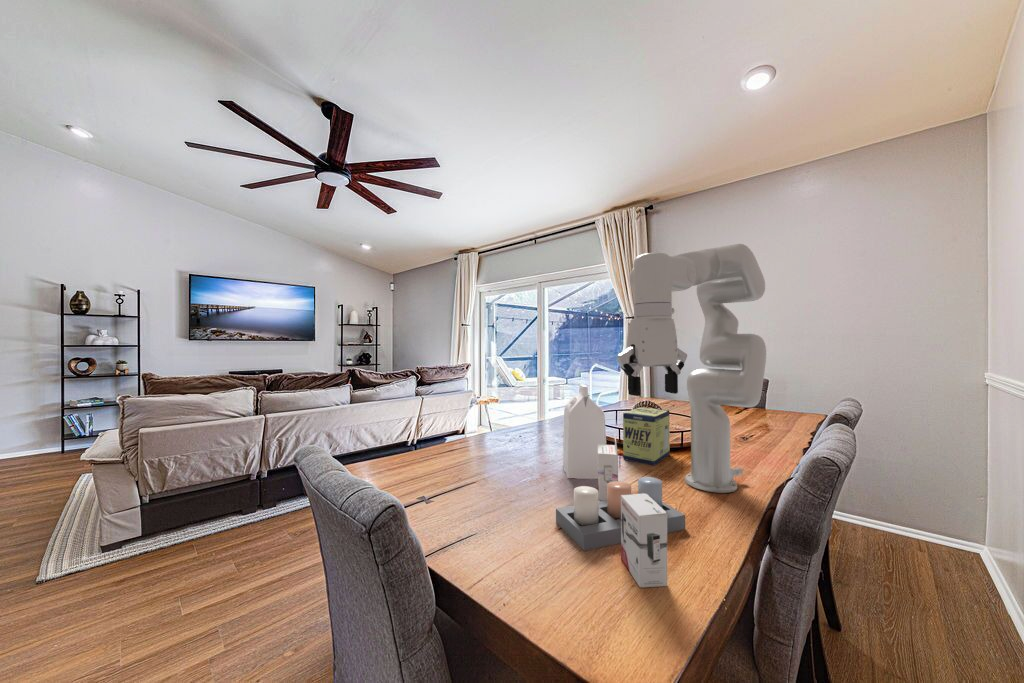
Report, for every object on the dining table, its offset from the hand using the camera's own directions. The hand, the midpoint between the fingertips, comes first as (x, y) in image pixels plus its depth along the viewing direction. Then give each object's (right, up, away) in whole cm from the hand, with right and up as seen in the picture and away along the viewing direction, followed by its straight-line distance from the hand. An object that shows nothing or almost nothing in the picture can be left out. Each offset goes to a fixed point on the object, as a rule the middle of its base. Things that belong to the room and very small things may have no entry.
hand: (653, 393), depth 80 cm
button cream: (-15, -26, -2) cm, 30 cm away
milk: (-8, -28, +34) cm, 45 cm away
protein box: (+16, -28, +47) cm, 57 cm away
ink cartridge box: (-5, -28, +17) cm, 33 cm away
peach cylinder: (-7, -26, 0) cm, 27 cm away
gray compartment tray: (-7, -28, 0) cm, 29 cm away
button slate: (0, -26, +3) cm, 26 cm away
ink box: (-8, -28, -16) cm, 33 cm away
